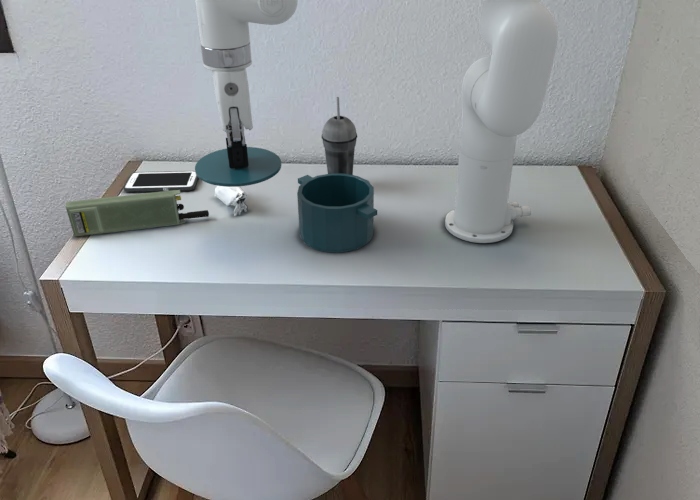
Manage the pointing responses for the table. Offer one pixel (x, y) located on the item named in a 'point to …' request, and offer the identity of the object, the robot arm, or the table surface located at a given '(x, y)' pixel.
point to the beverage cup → (339, 143)
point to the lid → (220, 174)
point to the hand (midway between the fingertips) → (238, 162)
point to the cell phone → (161, 181)
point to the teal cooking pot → (335, 212)
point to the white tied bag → (232, 197)
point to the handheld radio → (127, 213)
